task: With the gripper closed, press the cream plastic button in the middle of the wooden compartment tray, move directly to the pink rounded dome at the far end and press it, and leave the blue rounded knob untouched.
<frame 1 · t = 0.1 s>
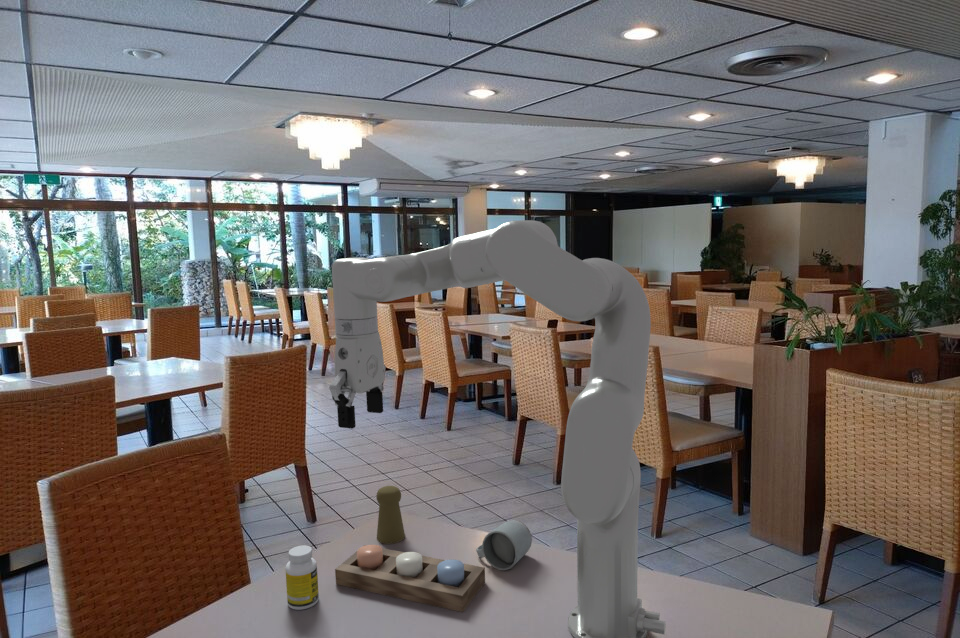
hand: (361, 419, 121), 31 cm above the table, tool pointing down, fingers open, 9 cm apart
pink rounded dome: (370, 558, 126), point 4 cm above the table, slide at 0.0 cm
wooden compartment tray: (410, 583, 123), on the table
blue rounded knob: (450, 574, 119), point 4 cm above the table, slide at 0.0 cm
ceramic mug: (502, 561, 131), on the table
olive game pawn: (390, 537, 142), on the table
cream button: (409, 565, 122), point 3 cm above the table, slide at 0.0 cm
supplement bottle: (303, 603, 118), on the table
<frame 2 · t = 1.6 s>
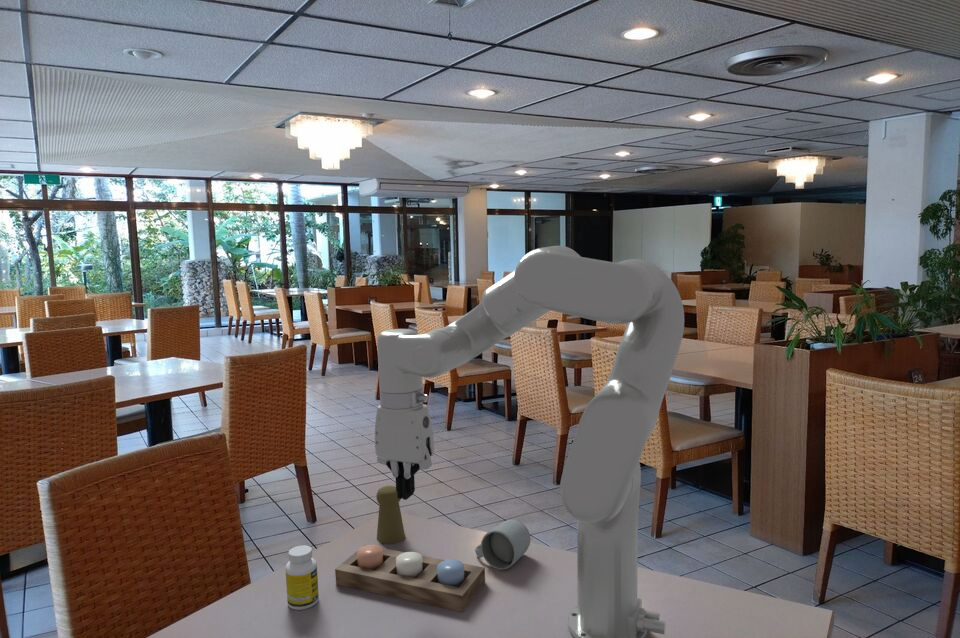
hand: (405, 496, 121), 17 cm above the table, tool pointing down, fingers closed
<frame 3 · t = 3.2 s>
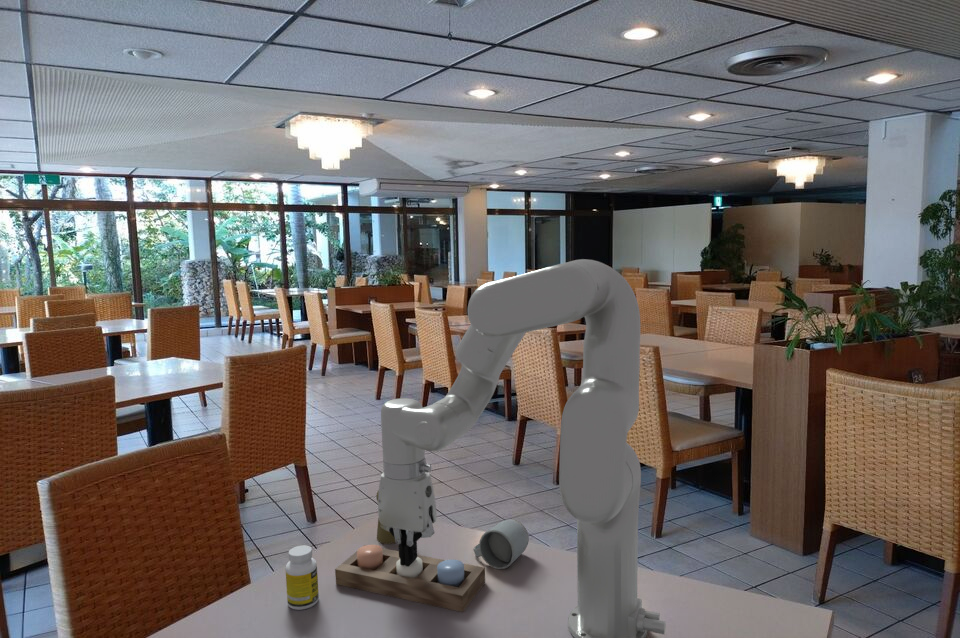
hand: (408, 562, 122), 4 cm above the table, tool pointing down, fingers closed
cream button: (409, 570, 123), point 3 cm above the table, slide at 0.8 cm, touching gripper
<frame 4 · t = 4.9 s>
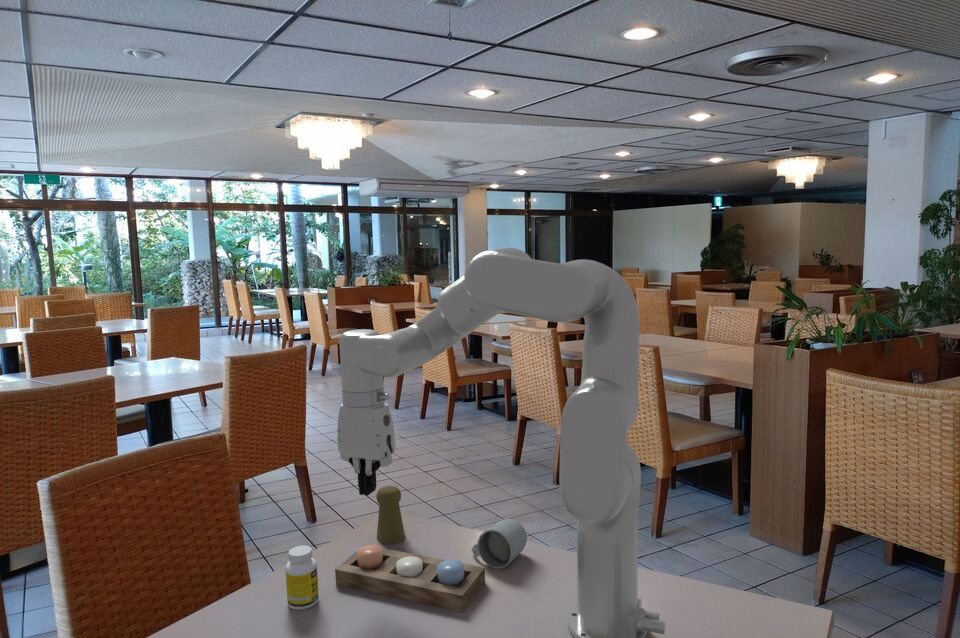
hand: (367, 492, 124), 17 cm above the table, tool pointing down, fingers closed
cream button: (409, 570, 123), point 3 cm above the table, slide at 0.9 cm
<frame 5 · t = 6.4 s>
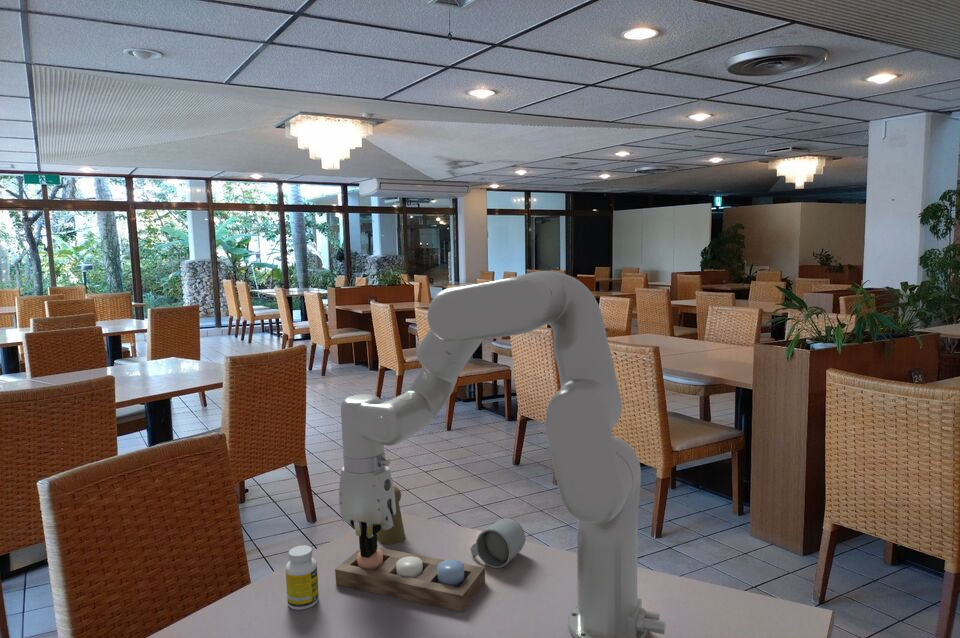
hand: (368, 553, 126), 4 cm above the table, tool pointing down, fingers closed
pink rounded dome: (370, 561, 126), point 3 cm above the table, slide at 0.7 cm, touching gripper
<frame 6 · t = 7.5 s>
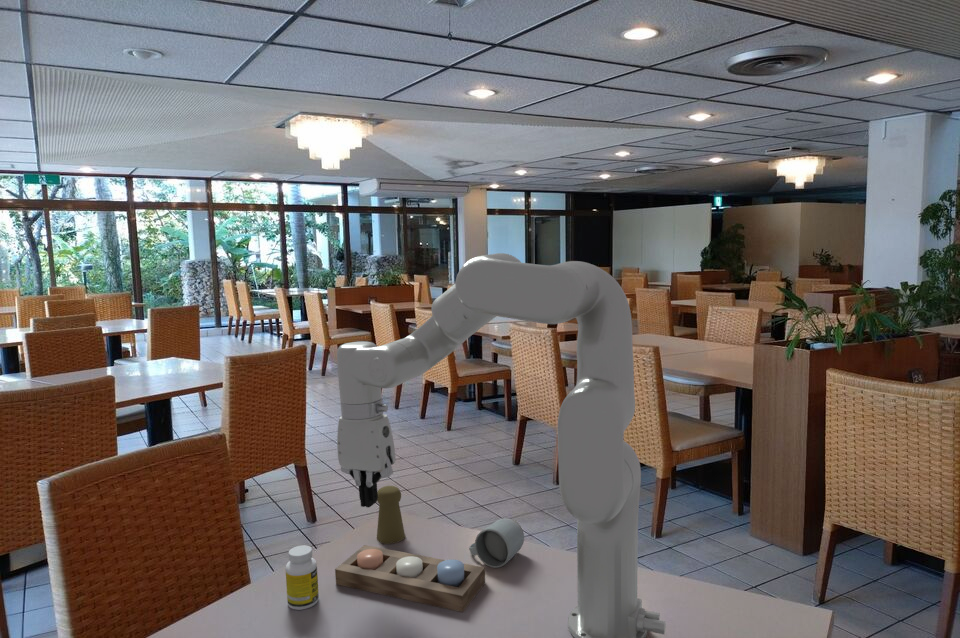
hand: (369, 504, 124), 14 cm above the table, tool pointing down, fingers closed
pink rounded dome: (370, 562, 126), point 3 cm above the table, slide at 0.9 cm
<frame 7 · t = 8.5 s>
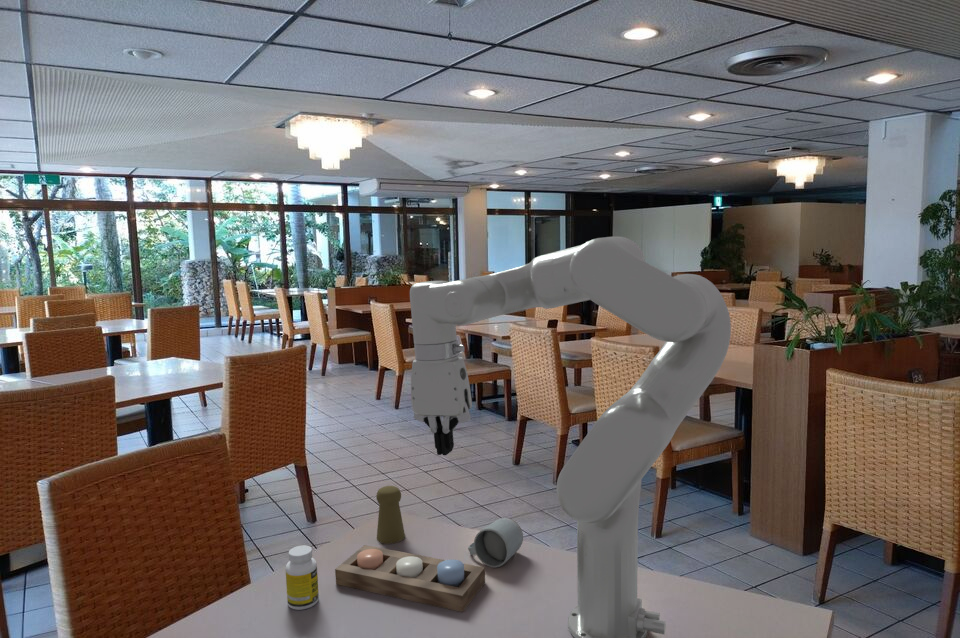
hand: (445, 452, 118), 26 cm above the table, tool pointing down, fingers closed
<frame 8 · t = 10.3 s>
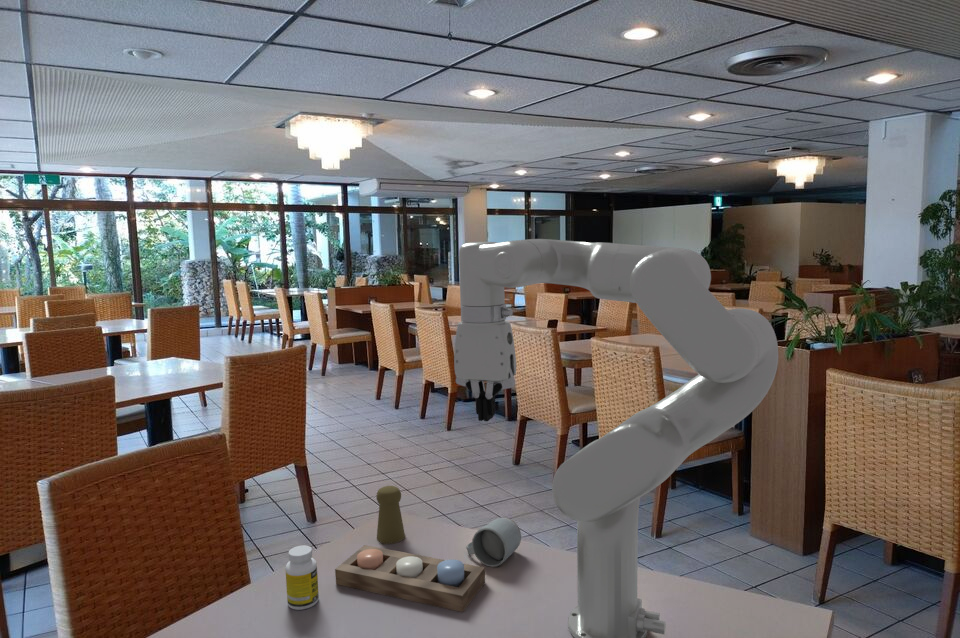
hand: (486, 418, 115), 32 cm above the table, tool pointing down, fingers closed
at the end: cream button slide at 0.9 cm; pink rounded dome slide at 0.9 cm; blue rounded knob slide at 0.0 cm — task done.
